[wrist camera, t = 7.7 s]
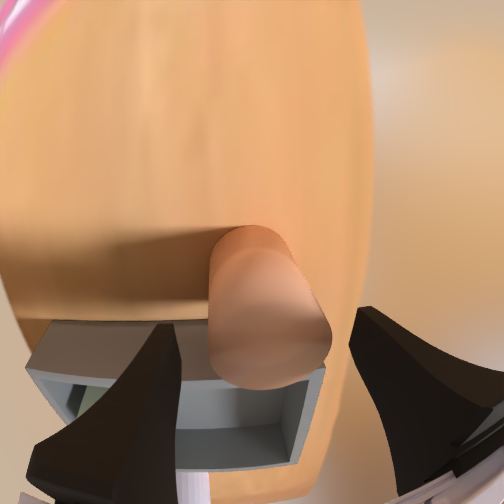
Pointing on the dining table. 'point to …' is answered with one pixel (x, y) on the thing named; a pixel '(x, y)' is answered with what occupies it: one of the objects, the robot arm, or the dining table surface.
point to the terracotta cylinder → (262, 313)
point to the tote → (191, 395)
